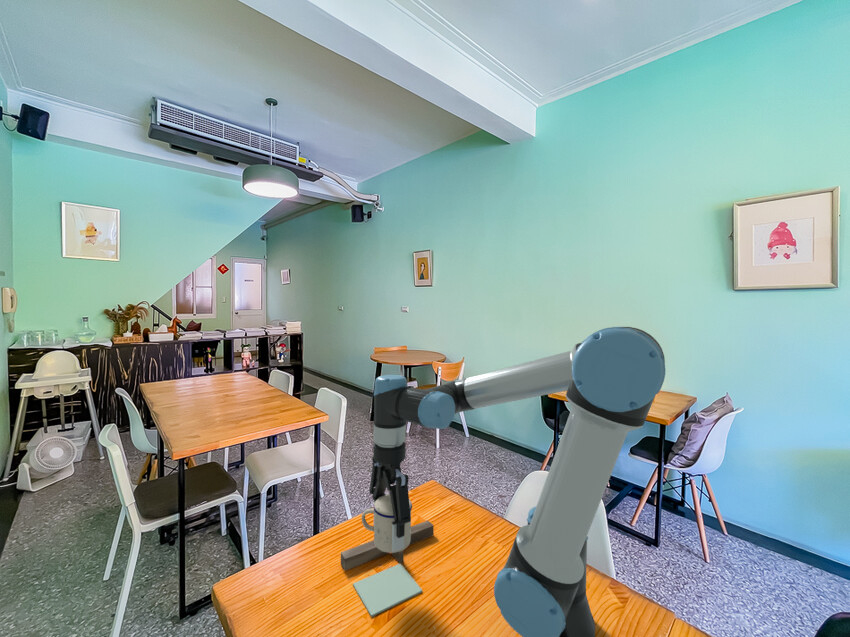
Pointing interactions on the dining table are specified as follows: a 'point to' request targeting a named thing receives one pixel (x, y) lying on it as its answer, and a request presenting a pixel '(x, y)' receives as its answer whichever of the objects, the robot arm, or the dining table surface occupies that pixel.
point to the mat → (386, 589)
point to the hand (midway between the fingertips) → (388, 537)
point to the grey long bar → (371, 552)
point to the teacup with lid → (385, 524)
